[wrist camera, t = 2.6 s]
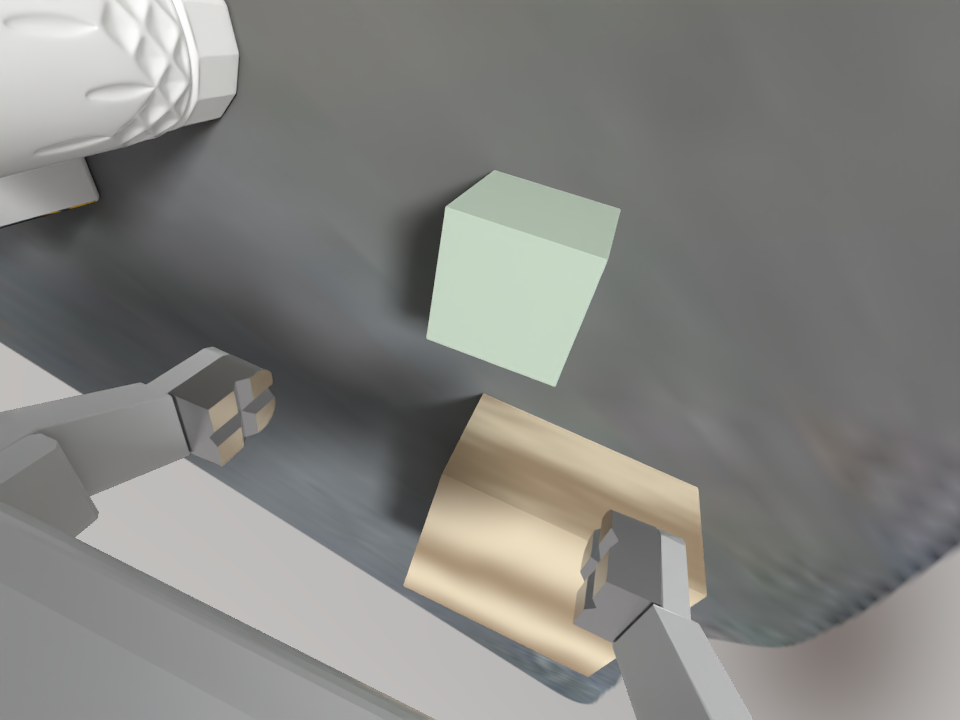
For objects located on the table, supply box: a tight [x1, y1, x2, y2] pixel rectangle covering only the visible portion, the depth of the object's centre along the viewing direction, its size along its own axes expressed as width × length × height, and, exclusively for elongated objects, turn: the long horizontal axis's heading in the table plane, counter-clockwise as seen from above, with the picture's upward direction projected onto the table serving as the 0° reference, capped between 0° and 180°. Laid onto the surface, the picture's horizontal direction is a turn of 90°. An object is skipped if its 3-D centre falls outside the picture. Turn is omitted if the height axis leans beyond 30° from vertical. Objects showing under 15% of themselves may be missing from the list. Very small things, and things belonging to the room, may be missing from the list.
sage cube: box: [426, 170, 621, 387], centre depth 16 cm, size 5×5×5 cm
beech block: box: [403, 393, 707, 677], centre depth 25 cm, size 12×12×6 cm
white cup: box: [0, 0, 239, 178], centre depth 14 cm, size 8×8×10 cm
